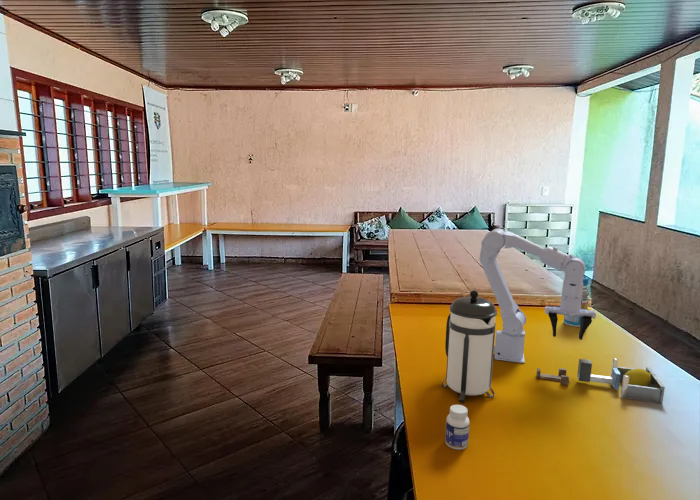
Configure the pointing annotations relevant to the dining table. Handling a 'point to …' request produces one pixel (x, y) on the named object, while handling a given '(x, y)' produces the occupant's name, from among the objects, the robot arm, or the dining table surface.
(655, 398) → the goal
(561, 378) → the track
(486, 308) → the coffee press
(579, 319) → the beverage bottle
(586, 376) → the rod
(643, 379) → the lemon
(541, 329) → the dining table surface
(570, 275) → the robot arm
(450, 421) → the pill bottle
